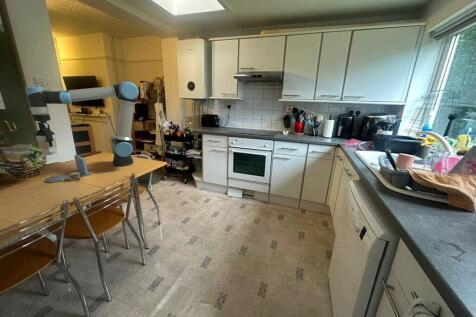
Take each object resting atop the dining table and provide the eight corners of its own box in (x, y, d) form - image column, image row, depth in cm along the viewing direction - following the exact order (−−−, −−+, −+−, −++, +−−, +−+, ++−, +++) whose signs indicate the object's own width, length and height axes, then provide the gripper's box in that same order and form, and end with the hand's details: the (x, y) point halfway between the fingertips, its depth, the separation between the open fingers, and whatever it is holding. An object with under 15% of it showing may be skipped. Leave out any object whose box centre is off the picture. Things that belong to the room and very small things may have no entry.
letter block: (80, 178, 135) (79, 171, 134) (79, 180, 131) (78, 174, 130) (72, 179, 133) (70, 172, 132) (71, 181, 129) (69, 175, 128)
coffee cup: (63, 152, 130) (57, 129, 126) (49, 156, 122) (43, 132, 117) (50, 151, 131) (44, 129, 127) (36, 155, 123) (29, 131, 118)
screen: (74, 171, 146) (71, 155, 142) (82, 169, 149) (79, 154, 146) (83, 176, 137) (79, 160, 133) (91, 174, 141) (88, 158, 137)
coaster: (73, 175, 139) (73, 174, 138) (61, 182, 127) (61, 181, 127) (53, 175, 137) (53, 174, 136) (40, 183, 125) (40, 182, 125)
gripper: (27, 112, 122) (37, 148, 129) (36, 115, 110) (46, 154, 117) (44, 112, 128) (52, 146, 135) (54, 115, 116) (63, 152, 123)
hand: (50, 150), depth 126 cm, fingers closed on coffee cup, 9 cm apart
